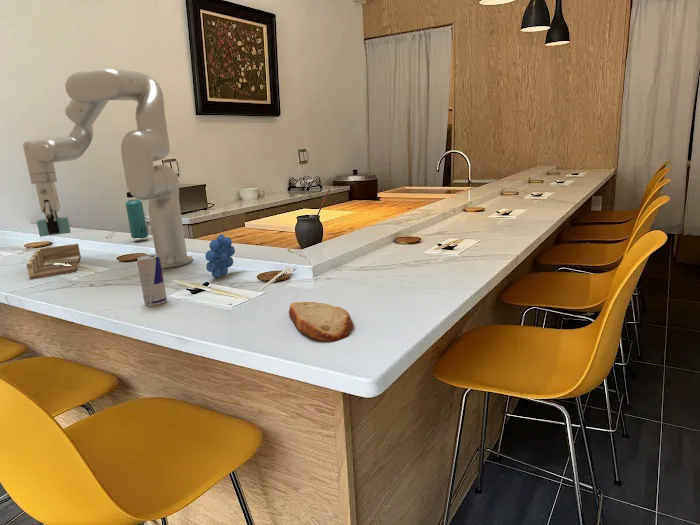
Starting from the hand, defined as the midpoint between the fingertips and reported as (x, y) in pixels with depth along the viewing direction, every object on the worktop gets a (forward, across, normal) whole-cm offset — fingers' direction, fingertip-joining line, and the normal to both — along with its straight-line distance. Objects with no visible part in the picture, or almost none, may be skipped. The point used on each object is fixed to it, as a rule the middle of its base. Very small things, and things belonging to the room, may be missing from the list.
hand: (55, 231), depth 176 cm
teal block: (+1, 0, 0) cm, 1 cm away
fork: (+11, -64, -59) cm, 87 cm away
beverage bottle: (+12, +22, -26) cm, 37 cm away
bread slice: (+11, -102, -56) cm, 117 cm away
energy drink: (+11, -66, -26) cm, 72 cm away
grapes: (+11, -51, -46) cm, 69 cm away
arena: (+11, -5, +1) cm, 12 cm away
